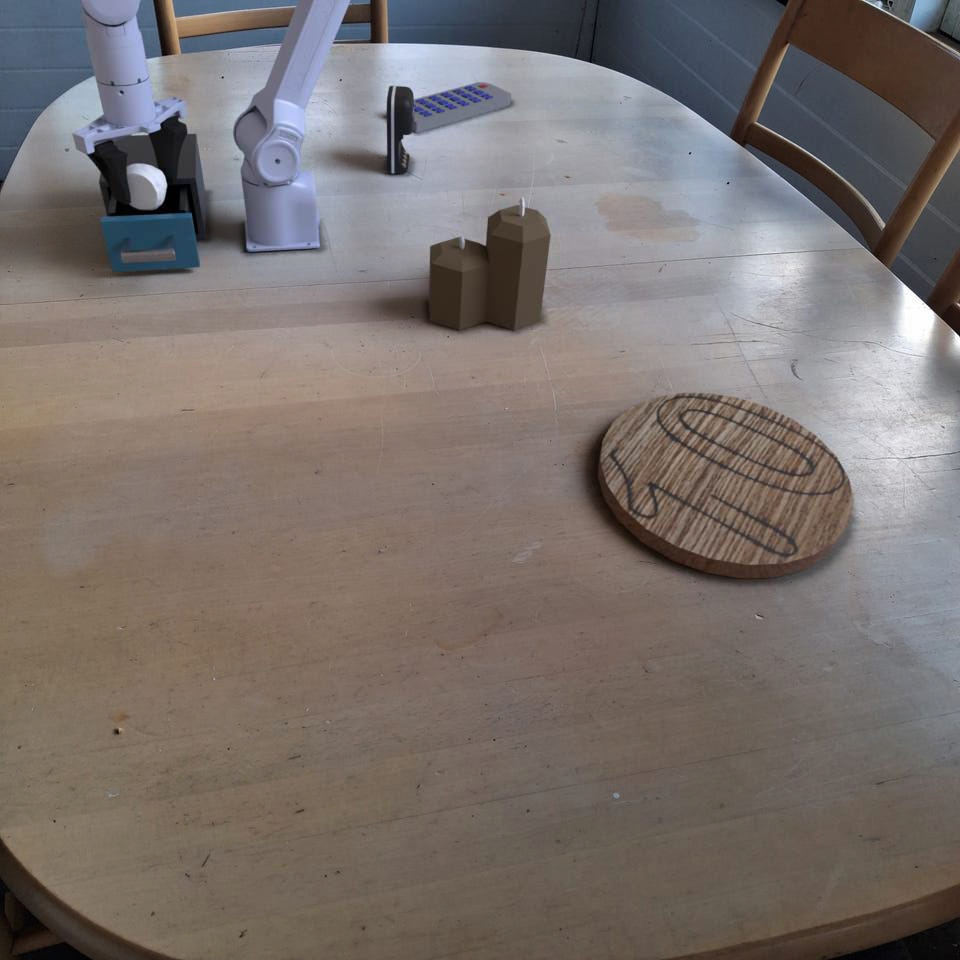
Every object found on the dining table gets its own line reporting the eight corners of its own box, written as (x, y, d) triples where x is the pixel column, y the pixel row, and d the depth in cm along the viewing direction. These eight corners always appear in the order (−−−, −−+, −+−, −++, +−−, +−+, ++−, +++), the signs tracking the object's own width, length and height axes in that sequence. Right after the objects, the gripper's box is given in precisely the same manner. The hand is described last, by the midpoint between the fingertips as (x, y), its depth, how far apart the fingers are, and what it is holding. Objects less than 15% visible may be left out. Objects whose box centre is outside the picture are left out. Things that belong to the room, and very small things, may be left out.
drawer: (199, 287, 110) (191, 236, 105) (109, 292, 108) (96, 241, 103) (200, 219, 122) (192, 171, 117) (119, 223, 120) (107, 174, 115)
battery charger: (412, 176, 137) (412, 100, 129) (386, 175, 137) (386, 99, 129) (414, 156, 142) (415, 82, 134) (390, 155, 142) (389, 80, 134)
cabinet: (205, 239, 120) (195, 178, 114) (113, 244, 118) (98, 181, 112) (205, 192, 129) (196, 133, 124) (120, 196, 127) (106, 135, 121)
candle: (560, 294, 115) (575, 183, 105) (518, 349, 106) (531, 232, 96) (464, 266, 119) (470, 156, 109) (415, 316, 110) (417, 201, 100)
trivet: (803, 622, 79) (810, 608, 78) (553, 504, 88) (555, 490, 86) (874, 465, 95) (881, 451, 94) (657, 378, 104) (660, 365, 102)
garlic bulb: (180, 192, 114) (172, 149, 110) (165, 214, 109) (157, 171, 106) (137, 188, 114) (128, 146, 110) (120, 210, 109) (110, 167, 106)
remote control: (387, 117, 153) (386, 104, 152) (485, 89, 164) (486, 77, 163) (416, 134, 149) (416, 120, 147) (515, 104, 160) (516, 91, 159)
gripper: (91, 104, 95) (119, 223, 104) (197, 68, 104) (214, 181, 113) (49, 87, 98) (80, 204, 107) (155, 53, 107) (175, 164, 116)
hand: (146, 191), depth 110 cm, fingers closed on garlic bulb, 6 cm apart
